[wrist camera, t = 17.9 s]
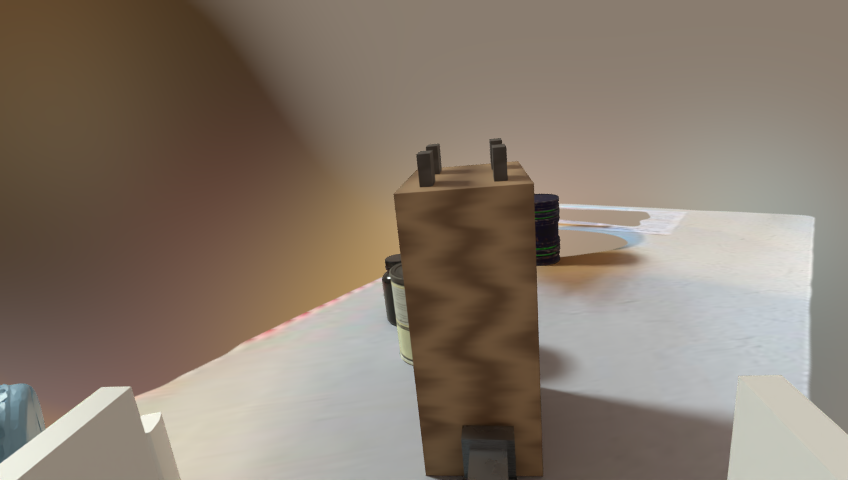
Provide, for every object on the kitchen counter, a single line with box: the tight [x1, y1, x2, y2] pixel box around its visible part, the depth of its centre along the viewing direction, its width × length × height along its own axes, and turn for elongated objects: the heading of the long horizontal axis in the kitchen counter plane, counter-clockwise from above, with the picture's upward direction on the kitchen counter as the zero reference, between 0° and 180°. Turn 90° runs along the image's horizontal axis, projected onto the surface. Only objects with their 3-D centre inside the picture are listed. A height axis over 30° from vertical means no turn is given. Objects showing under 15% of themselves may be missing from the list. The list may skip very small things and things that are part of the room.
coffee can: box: [389, 262, 413, 365], centre depth 71 cm, size 10×10×14 cm
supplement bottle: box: [382, 254, 401, 325], centre depth 84 cm, size 7×7×12 cm
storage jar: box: [534, 194, 560, 266], centre depth 108 cm, size 10×10×15 cm
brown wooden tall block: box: [394, 138, 543, 476], centre depth 51 cm, size 12×16×33 cm
